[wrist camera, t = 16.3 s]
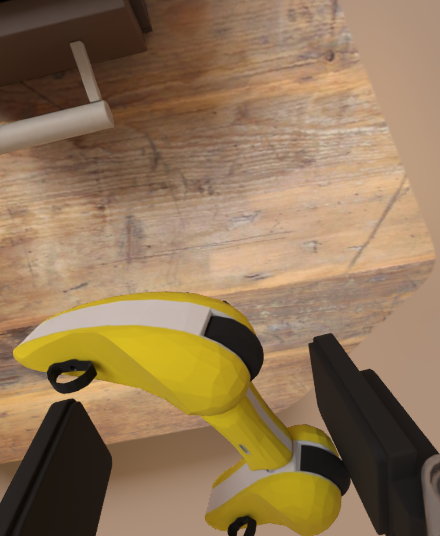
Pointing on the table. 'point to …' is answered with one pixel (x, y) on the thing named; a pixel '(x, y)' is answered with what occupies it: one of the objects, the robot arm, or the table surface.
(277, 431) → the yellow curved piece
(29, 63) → the drawer
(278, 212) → the table surface
